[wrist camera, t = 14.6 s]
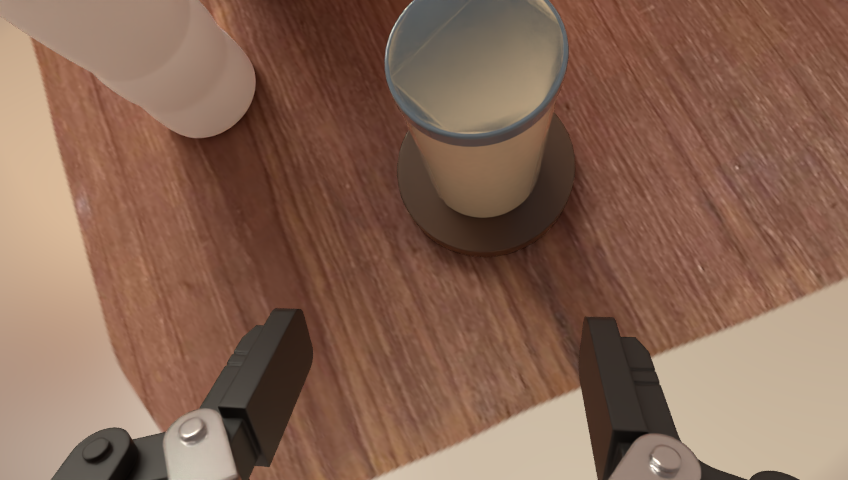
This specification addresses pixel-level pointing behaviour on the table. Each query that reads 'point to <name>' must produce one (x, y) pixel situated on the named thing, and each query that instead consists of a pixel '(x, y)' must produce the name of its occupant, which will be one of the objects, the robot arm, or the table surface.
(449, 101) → the beer stein
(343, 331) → the table surface
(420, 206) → the swivel stand
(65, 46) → the water bottle
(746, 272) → the table surface
